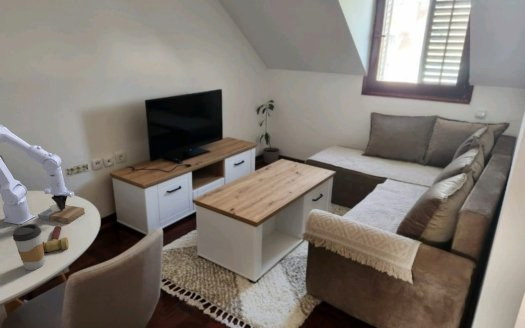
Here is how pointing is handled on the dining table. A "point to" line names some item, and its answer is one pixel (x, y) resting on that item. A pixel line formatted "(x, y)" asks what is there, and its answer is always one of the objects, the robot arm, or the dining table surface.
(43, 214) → the tray
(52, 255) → the dining table surface
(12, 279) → the dining table surface
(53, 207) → the tile block
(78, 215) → the board
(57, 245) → the gavel
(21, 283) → the dining table surface
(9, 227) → the dining table surface
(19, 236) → the coffee cup
